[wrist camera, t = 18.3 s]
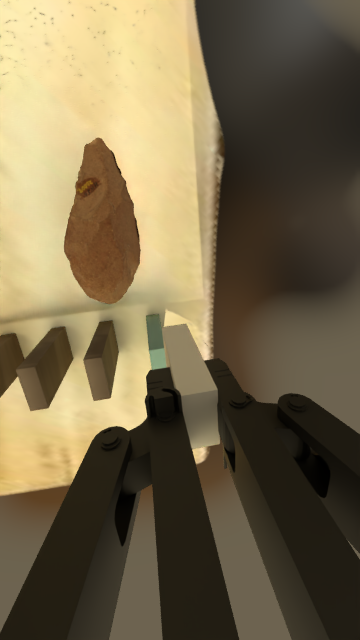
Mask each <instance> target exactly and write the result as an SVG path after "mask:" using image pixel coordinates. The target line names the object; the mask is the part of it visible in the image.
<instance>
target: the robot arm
mask: <svg viewBox="0 0 360 640" xmlns="http://www.w3.org/2000/svg"><path fill="white" fill-rule="evenodd" d="M162 334H163V342H164V350H165V358H166V366H167V367H166V368H160V369H154V370H150V371H149V373H148V374H147V376H146V381H147V396H146V398H145V405H146V410H147V418H146V420H145V421H144V422H143V423H142V424H141V425H140V426H138V427H136V428H134V429H132V430H130V431H128V430H126V429H125V428H123V427H118V426H115V427H109V428H107V429H104V430H102V431H101V432H100V433H98V434H97V435H96V436H95V438H94V439H93V440H92V442H91V444H90V446H89V448H88V450H87V453H86V455H85V457H84V459H83V461H82V463H81V465H80V467H79V469H78V471H77V474H76V476H75V478H74V480H73V482H72V484H71V486H70V488H69V491H68V492H67V494H66V497H65V499H64V501H63V503H62V505H61V507H60V509H59V511H58V513H57V516H56V517H55V520H54V522H53V524H52V526H51V528H50V530H49V532H48V534H47V537H46V538H45V541H44V543H43V545H42V547H41V549H40V551H39V553H38V555H37V558H36V559H35V561H34V563H33V566H32V568H31V570H30V572H29V574H28V576H27V578H26V580H25V583H24V584H23V586H22V589H21V591H20V593H19V595H18V597H17V599H16V601H15V603H14V605H13V607H12V610H11V612H10V614H9V616H8V618H7V620H6V622H5V624H4V626H3V628H2V631H1V632H0V640H109V636H110V632H111V627H112V622H113V618H114V613H115V609H116V604H117V599H118V595H119V590H120V586H121V581H122V576H123V572H124V568H125V563H126V558H127V553H128V549H129V545H130V540H131V535H132V531H133V526H134V521H135V517H136V512H137V508H138V503H139V499H140V494H141V490H142V489H144V488H146V487H148V486H149V485H151V484H152V487H153V501H154V517H155V532H156V546H157V561H158V576H159V591H160V606H161V619H162V620H161V621H162V636H163V640H239V637H238V633H237V629H236V625H235V621H234V617H233V613H232V609H231V605H230V601H229V596H228V592H227V588H226V584H225V580H224V576H223V572H222V568H221V564H220V560H219V557H218V552H217V548H216V544H215V540H214V536H213V532H212V528H211V524H210V520H209V516H208V512H207V508H206V504H205V500H204V496H203V492H202V488H201V484H200V480H199V476H198V472H197V468H196V463H195V459H194V455H193V451H192V449H196V448H201V447H206V446H211V445H216V444H220V437H221V440H222V442H223V460H224V468H225V469H226V468H227V465H228V467H229V470H230V473H231V476H232V478H233V481H234V484H235V487H236V489H237V492H238V495H239V497H240V500H241V503H242V506H243V508H244V511H245V514H246V516H247V519H248V522H249V524H250V527H251V530H252V533H253V535H254V538H255V541H256V543H257V546H258V549H259V552H260V554H261V557H262V560H263V563H264V565H265V568H266V570H267V573H268V576H269V579H270V582H271V584H272V587H273V590H274V592H275V595H276V598H277V601H278V603H279V606H280V609H281V611H282V614H283V617H284V620H285V622H286V625H287V628H288V630H289V633H290V636H291V638H292V640H360V559H359V558H358V556H357V555H356V553H355V552H354V550H353V549H352V547H351V545H350V544H349V542H350V543H351V544H352V545H353V547H354V548H355V549H356V550H357V551H358V552H359V553H360V434H358V433H357V432H356V431H354V430H353V429H352V428H350V427H349V426H347V425H346V424H345V423H343V422H342V421H340V420H339V419H338V418H336V417H335V416H333V415H332V414H331V413H329V412H328V411H326V410H325V409H324V408H322V407H321V406H319V405H318V404H316V403H315V402H314V401H312V400H311V399H309V398H307V397H305V396H303V395H300V394H292V393H290V394H285V395H283V396H281V397H280V398H279V400H278V404H273V403H261V402H257V401H256V400H255V399H254V398H253V397H252V396H251V395H250V394H248V393H246V392H243V390H242V389H241V387H240V385H239V384H238V382H237V380H236V379H235V378H234V376H233V375H232V372H231V371H230V370H229V368H228V366H227V364H226V363H225V362H223V361H222V360H220V359H219V358H218V359H211V360H205V361H204V360H203V358H202V356H201V354H200V352H199V349H198V347H197V345H196V343H195V341H194V339H193V337H192V335H191V333H190V331H189V328H188V326H187V324H181V325H174V326H167V327H162ZM219 435H220V436H219ZM347 540H348V541H349V542H348V541H347Z"/></svg>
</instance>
